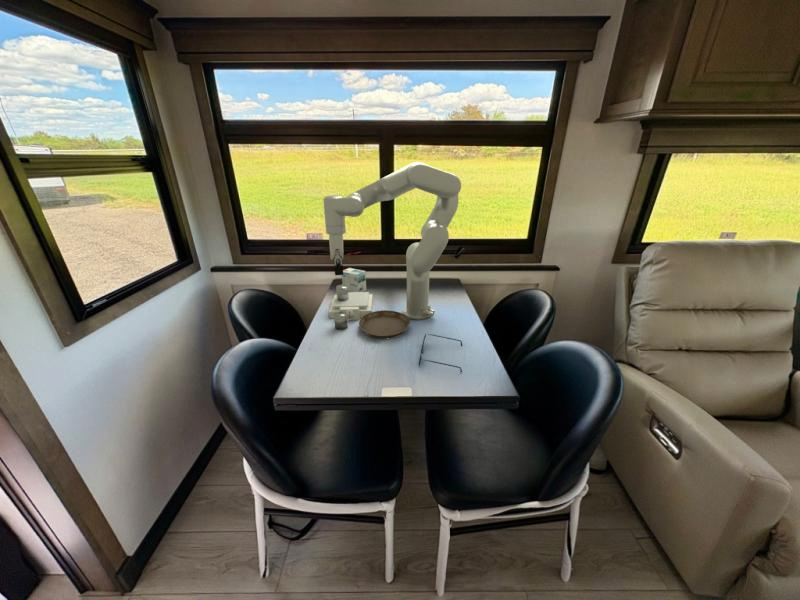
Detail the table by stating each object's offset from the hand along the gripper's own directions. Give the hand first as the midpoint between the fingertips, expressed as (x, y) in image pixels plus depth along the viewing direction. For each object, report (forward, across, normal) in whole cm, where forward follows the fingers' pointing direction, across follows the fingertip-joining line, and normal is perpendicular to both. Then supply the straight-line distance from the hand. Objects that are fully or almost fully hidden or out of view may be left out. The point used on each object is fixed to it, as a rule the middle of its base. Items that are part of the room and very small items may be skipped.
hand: (338, 270), depth 135 cm
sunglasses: (+22, +37, +33) cm, 54 cm away
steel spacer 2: (+21, +9, -1) cm, 23 cm away
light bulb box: (+21, -29, +7) cm, 37 cm away
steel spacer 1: (+16, -8, +1) cm, 18 cm away
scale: (+21, -6, +5) cm, 23 cm away
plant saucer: (+22, +13, +17) cm, 30 cm away
